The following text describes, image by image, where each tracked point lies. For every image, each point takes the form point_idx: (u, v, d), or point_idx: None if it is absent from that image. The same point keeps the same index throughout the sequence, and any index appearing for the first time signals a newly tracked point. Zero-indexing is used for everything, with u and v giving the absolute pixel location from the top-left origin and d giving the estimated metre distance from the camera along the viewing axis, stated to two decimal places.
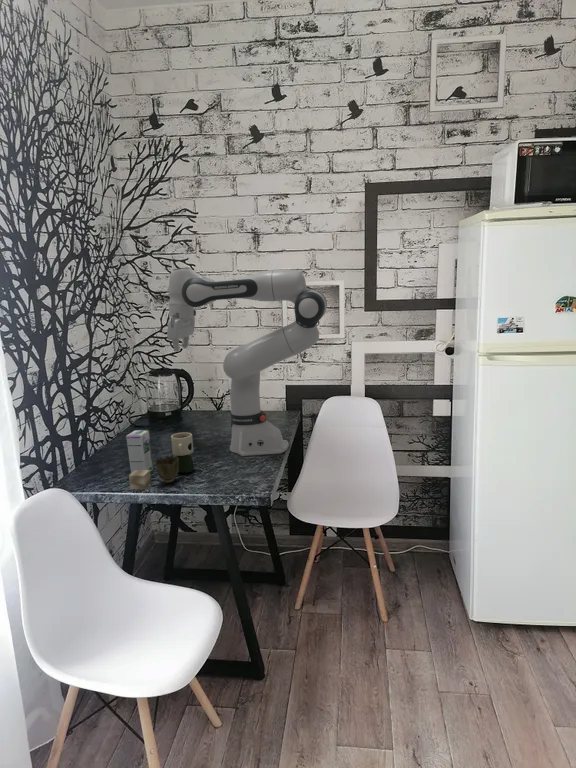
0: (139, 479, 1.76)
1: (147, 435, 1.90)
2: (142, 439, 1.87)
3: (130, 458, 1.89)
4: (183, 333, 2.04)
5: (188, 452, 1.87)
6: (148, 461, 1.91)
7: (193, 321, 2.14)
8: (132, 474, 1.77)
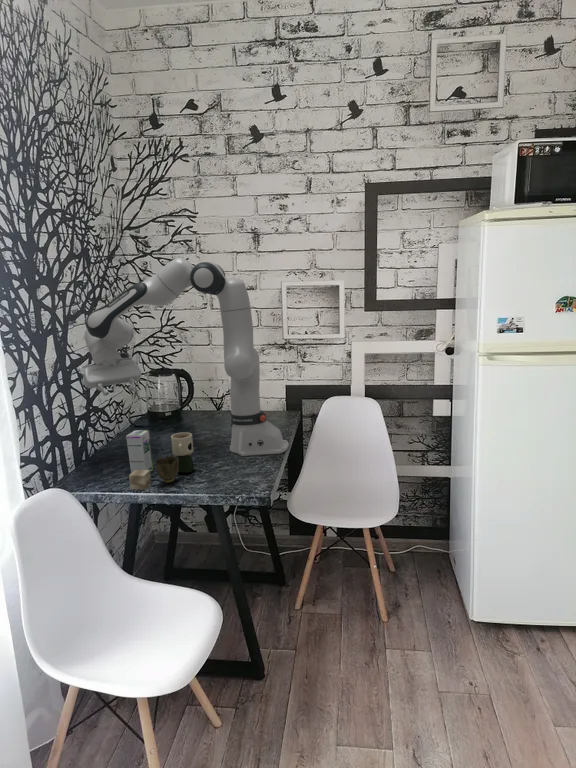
0: (139, 479, 1.76)
1: (147, 435, 1.90)
2: (142, 439, 1.87)
3: (130, 458, 1.89)
4: (106, 376, 1.97)
5: (188, 452, 1.87)
6: (148, 461, 1.91)
7: (133, 364, 2.05)
8: (132, 474, 1.77)
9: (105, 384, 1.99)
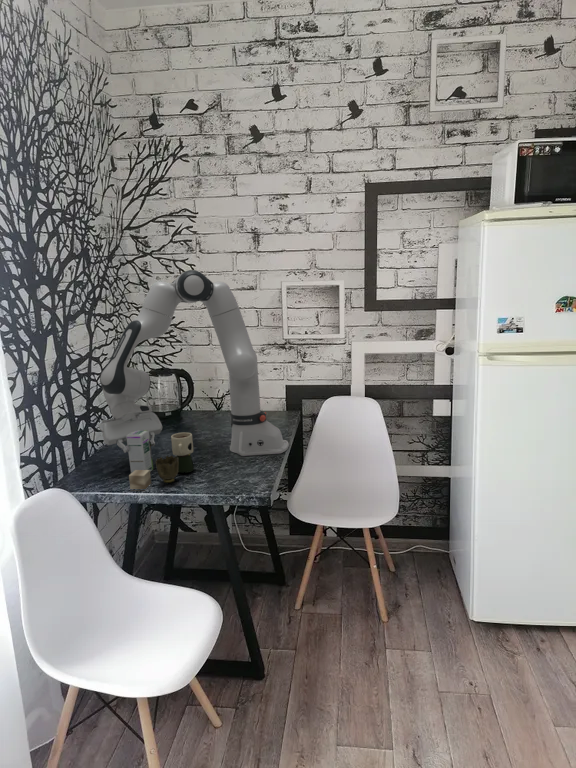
0: (139, 479, 1.76)
1: (147, 435, 1.90)
2: (142, 439, 1.87)
3: (130, 458, 1.89)
4: (126, 431, 1.90)
5: (188, 452, 1.87)
6: (148, 461, 1.91)
7: (153, 416, 1.97)
8: (132, 474, 1.77)
9: (125, 440, 1.91)
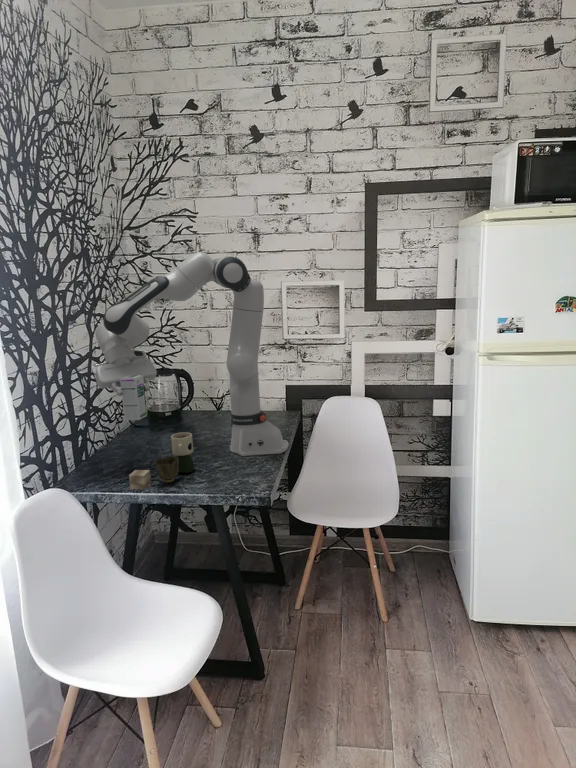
0: (139, 479, 1.76)
1: (141, 379, 1.87)
2: (136, 382, 1.83)
3: (124, 402, 1.85)
4: (119, 375, 1.86)
5: (188, 452, 1.87)
6: (142, 406, 1.87)
7: (147, 362, 1.93)
8: (132, 474, 1.77)
9: (119, 384, 1.87)
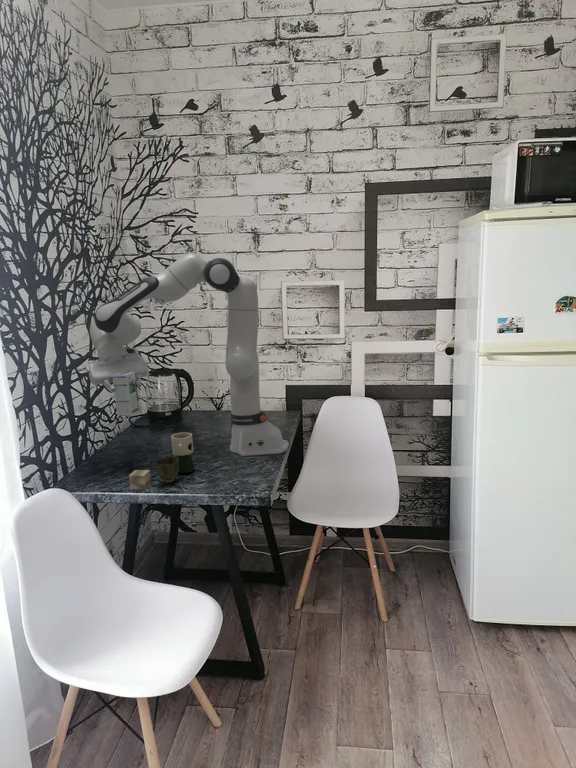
0: (139, 479, 1.76)
1: (133, 376, 1.92)
2: (128, 378, 1.89)
3: (116, 398, 1.90)
4: (112, 372, 1.91)
5: (188, 452, 1.87)
6: (134, 402, 1.92)
7: (139, 359, 1.99)
8: (132, 474, 1.77)
9: (111, 380, 1.93)
